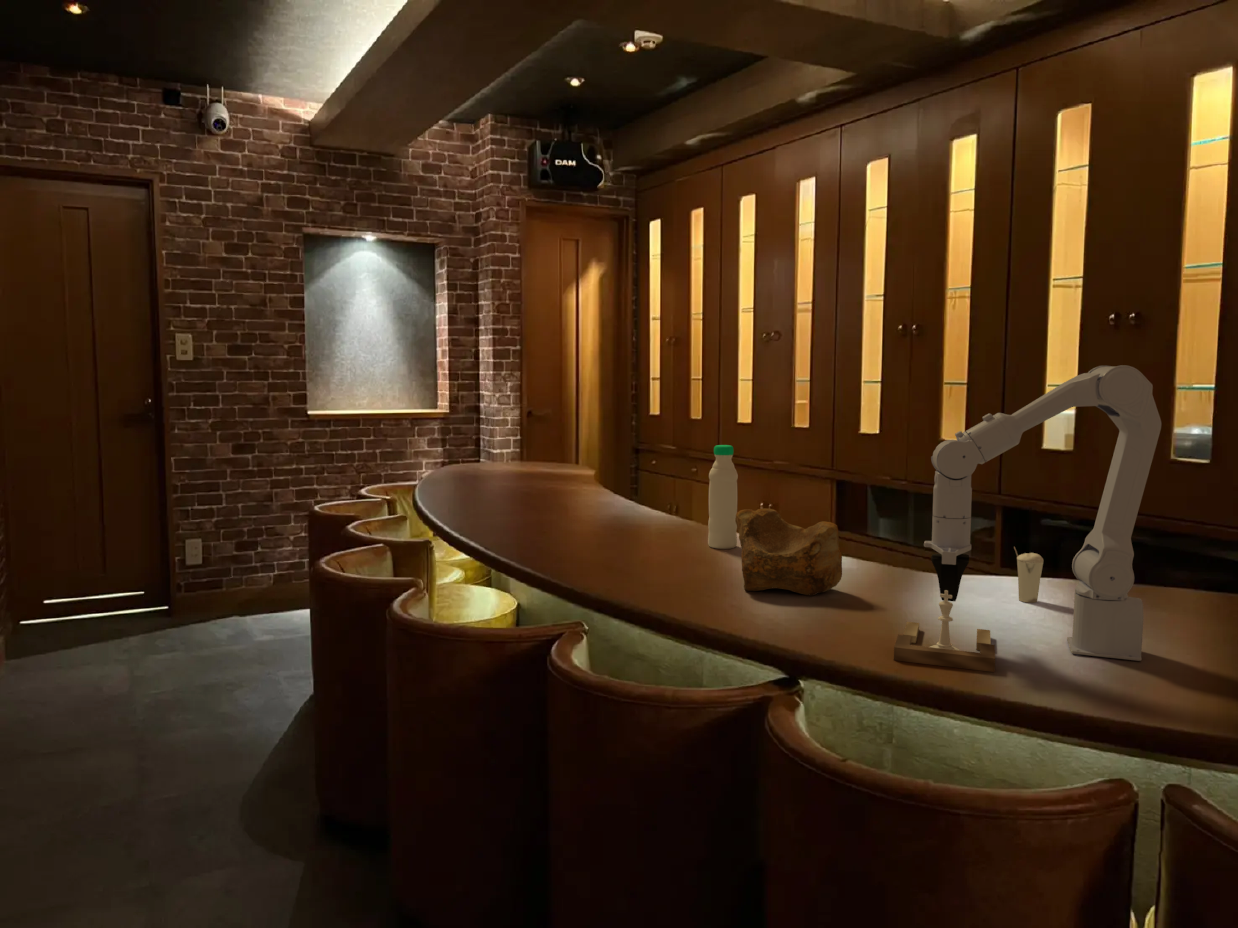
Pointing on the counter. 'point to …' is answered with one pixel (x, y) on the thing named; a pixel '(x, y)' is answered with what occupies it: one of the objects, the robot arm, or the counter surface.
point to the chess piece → (945, 623)
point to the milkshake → (1029, 576)
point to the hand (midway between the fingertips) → (948, 600)
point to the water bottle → (722, 500)
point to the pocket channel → (913, 630)
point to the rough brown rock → (787, 553)
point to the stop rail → (945, 655)
